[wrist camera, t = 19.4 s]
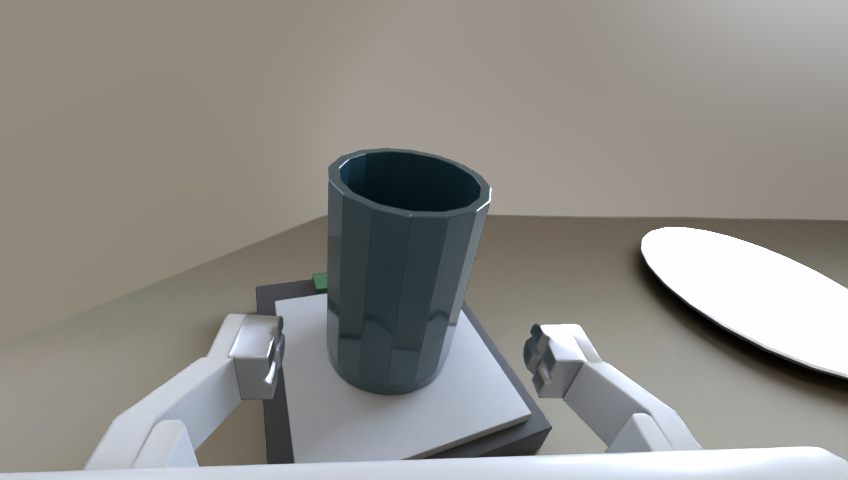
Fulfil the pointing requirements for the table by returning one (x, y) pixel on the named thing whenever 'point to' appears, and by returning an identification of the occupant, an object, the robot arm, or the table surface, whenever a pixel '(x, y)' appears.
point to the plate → (755, 295)
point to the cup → (398, 264)
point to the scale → (390, 397)
